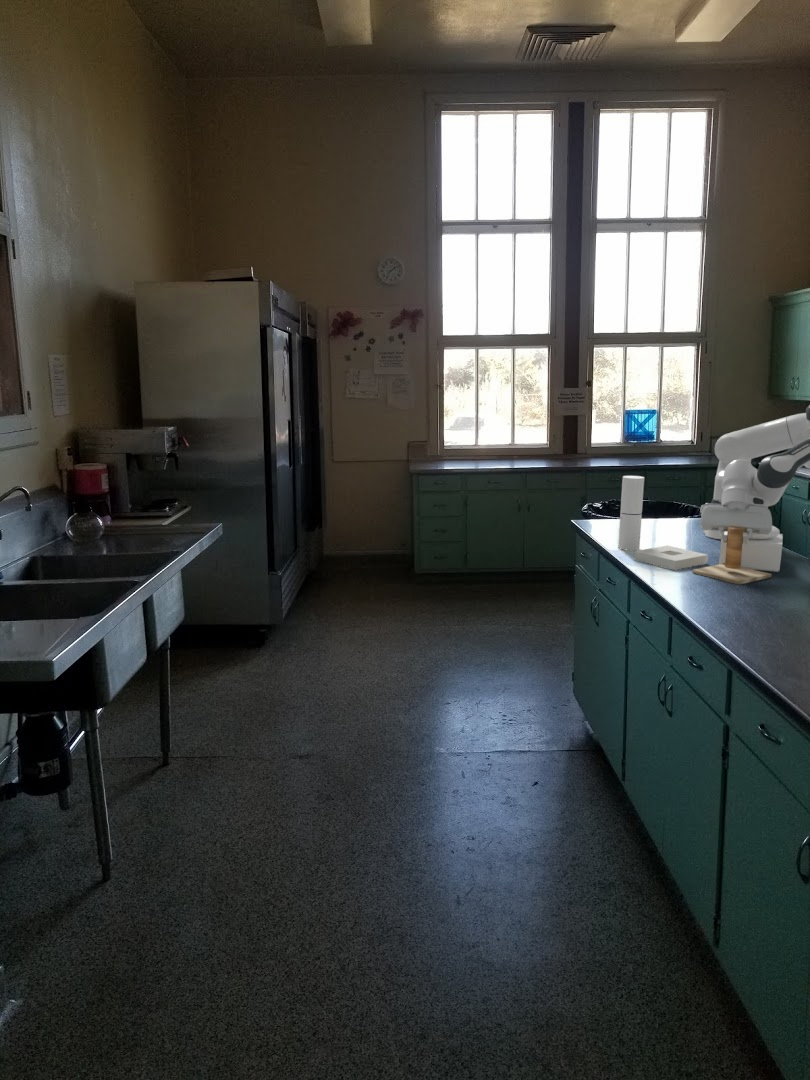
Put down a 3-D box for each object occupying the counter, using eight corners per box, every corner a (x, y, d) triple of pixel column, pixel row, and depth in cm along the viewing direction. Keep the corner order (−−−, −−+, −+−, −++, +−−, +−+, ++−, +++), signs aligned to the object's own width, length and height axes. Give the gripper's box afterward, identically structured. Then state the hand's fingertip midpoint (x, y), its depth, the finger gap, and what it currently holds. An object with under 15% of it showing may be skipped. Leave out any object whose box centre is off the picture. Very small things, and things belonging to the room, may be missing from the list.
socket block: (666, 554, 267) (667, 545, 267) (707, 563, 254) (708, 554, 254) (634, 560, 259) (635, 551, 258) (674, 570, 246) (675, 560, 245)
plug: (727, 564, 243) (729, 526, 240) (742, 566, 240) (745, 527, 238) (723, 567, 239) (725, 528, 237) (738, 569, 237) (741, 530, 234)
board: (724, 566, 251) (725, 563, 251) (771, 577, 238) (771, 574, 238) (692, 572, 243) (692, 569, 243) (738, 584, 230) (739, 581, 229)
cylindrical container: (628, 551, 271) (633, 479, 266) (613, 547, 277) (618, 476, 272) (643, 549, 274) (648, 477, 269) (629, 545, 281) (633, 475, 275)
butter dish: (718, 566, 252) (723, 517, 249) (722, 554, 268) (727, 508, 265) (779, 572, 245) (784, 522, 241) (779, 560, 261) (784, 512, 257)
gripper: (701, 496, 246) (698, 533, 239) (773, 500, 239) (772, 538, 232) (700, 508, 251) (697, 545, 244) (770, 513, 244) (769, 550, 237)
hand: (734, 542), depth 238 cm, fingers closed on plug, 4 cm apart
